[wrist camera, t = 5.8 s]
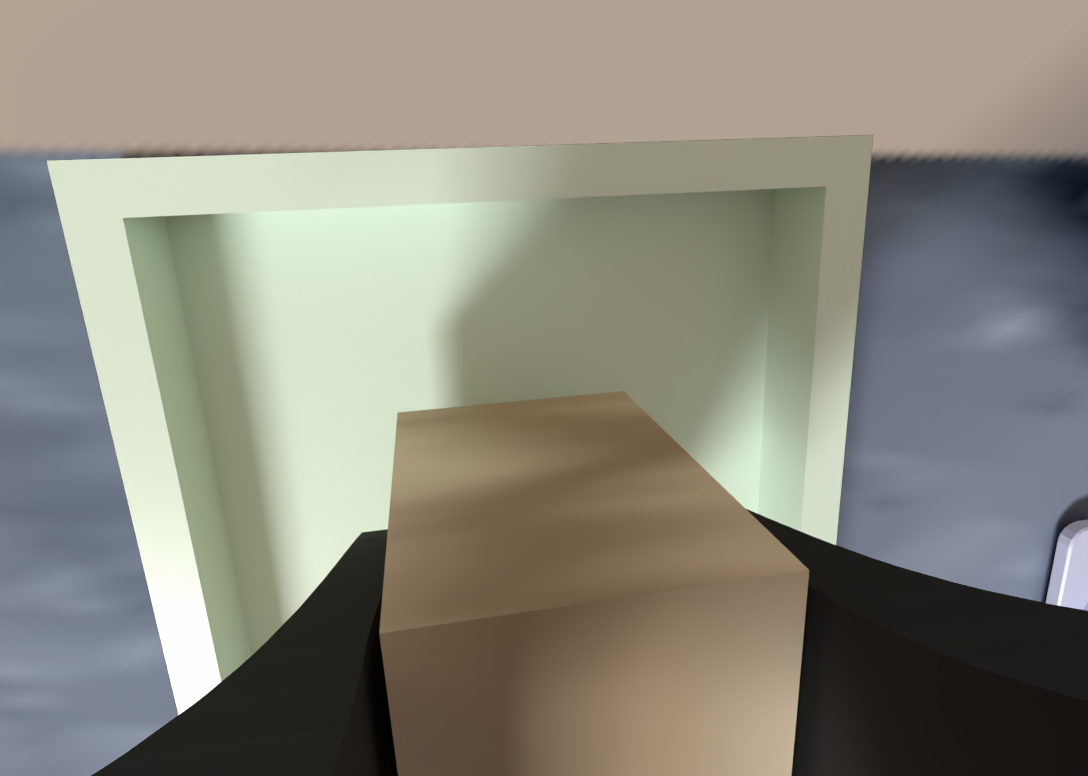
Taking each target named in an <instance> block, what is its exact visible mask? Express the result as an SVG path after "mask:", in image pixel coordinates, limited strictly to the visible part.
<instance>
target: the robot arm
mask: <svg viewBox="0 0 1088 776" xmlns="http://www.w3.org/2000/svg"><path fill="white" fill-rule="evenodd" d="M746 510H747V511H748V512H749V513H751V514H752V515H753V516H754V517H755V518H756V519H757V520H758V521H759V522H760V523H761V524H762V525H763V526H764V527H765V528H766V529H767V530H768V531H769V532H770V533H771V534H772V535H773V536H774V537H775V538H776V539H777V540H779V541H780V542H781V543H782V544H783V545H784V546H785V547H786V548H787V549H788V550H789V551H790V552H791V553H792V554H793V555H794V556H795V557H796V558H797V559H798V560H799V561H800V562H801V563H802V564H803V565H804V566H805V567H807V568H808V569H809V580H808V591H807V603H806V614H805V626H804V637H803V649H802V660H801V672H800V683H799V695H798V706H797V718H796V729H795V741H794V752H793V764H792V775H791V776H1088V520H1081V521H1076V522H1074V523H1071V524H1069V525H1068V526H1066V527H1065V528H1064V529H1063V530H1062V532H1061V533H1060V535H1059V538H1058V542H1057V547H1056V552H1055V557H1054V562H1053V567H1052V572H1051V577H1050V582H1049V588H1048V593H1047V598H1046V603H1042V602H1038V601H1033V600H1028V599H1024V598H1019V597H1014V596H1009V595H1005V594H1000V593H995V592H991V591H986V590H982V589H978V588H974V587H970V586H966V585H961V584H957V583H954V582H950V581H946V580H943V579H939V578H936V577H932V576H929V575H925V574H922V573H918V572H915V571H911V570H908V569H904V568H901V567H898V566H894V565H891V564H888V563H885V562H882V561H879V560H876V559H873V558H870V557H867V556H865V555H862V554H859V553H856V552H853V551H851V550H848V549H845V548H842V547H839V546H837V545H834V544H831V543H829V542H826V541H823V540H821V539H818V538H816V537H813V536H811V535H808V534H806V533H803V532H801V531H798V530H796V529H793V528H791V527H788V526H786V525H784V524H781V523H779V522H776V521H774V520H772V519H769V518H767V517H764V516H762V515H760V514H757V513H755V512H753V511H750V510H748V509H746ZM387 534H388V529H386V530H377V531H369V532H362V533H361V534H360V535H359V536H358V538H357V539H356V540H355V541H354V542H353V543H352V545H351V546H350V547H349V548H348V550H347V551H346V552H345V553H344V555H343V556H342V557H341V558H340V560H339V561H338V562H337V563H336V565H335V566H334V567H333V568H332V570H331V571H330V572H329V573H328V575H327V576H326V577H325V578H324V580H323V581H322V582H321V583H320V584H319V585H318V587H317V588H316V589H315V590H314V591H313V592H312V594H311V595H310V596H309V597H308V598H307V599H306V600H305V602H304V603H303V604H302V605H301V606H300V607H299V609H298V610H297V611H296V612H295V613H294V614H293V615H292V616H291V617H290V618H289V619H288V620H287V621H286V622H285V623H284V624H283V625H282V626H281V627H280V628H279V629H278V630H277V631H276V632H275V633H274V634H273V635H272V636H271V638H270V639H269V640H268V641H267V642H266V643H265V644H264V645H262V646H261V647H260V648H259V649H258V650H257V651H256V652H255V653H254V654H253V655H252V656H251V657H249V658H248V659H247V660H246V661H245V662H244V663H243V664H242V665H241V666H239V667H238V668H237V669H236V670H235V671H234V672H232V673H231V674H230V675H229V676H228V677H226V678H225V679H224V680H223V681H222V682H220V683H219V684H218V685H217V686H216V687H215V688H213V689H212V690H211V691H210V692H209V693H207V694H206V695H205V696H204V697H202V698H201V699H200V700H198V701H197V702H196V703H195V704H193V705H192V706H191V707H189V708H188V709H186V710H185V711H184V712H182V713H181V714H179V715H178V716H177V717H175V718H174V719H173V720H171V721H170V722H168V723H167V724H166V725H164V726H163V727H161V728H160V729H159V730H157V731H156V732H155V733H153V734H152V735H150V736H149V737H148V738H146V739H145V740H143V741H142V742H141V743H139V744H138V745H137V746H135V747H134V748H132V749H131V750H130V751H128V752H127V753H125V754H124V755H122V756H121V757H119V758H118V759H116V760H115V761H114V762H112V763H110V764H109V765H107V766H106V767H104V768H103V769H101V770H100V771H98V772H96V773H95V774H93V775H92V776H398V772H397V764H396V756H395V749H394V741H393V734H392V726H391V718H390V711H389V703H388V696H387V688H386V680H385V673H384V665H383V658H382V650H381V642H380V635H379V631H380V619H381V607H382V595H383V583H384V570H385V558H386V546H387Z"/></svg>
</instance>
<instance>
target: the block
mask: <svg viewBox="0 0 1088 776" xmlns="http://www.w3.org/2000/svg"><path fill="white" fill-rule="evenodd" d="M808 580H809V569H808V568H807V567H805V566H804V565H803V564H802V563H801V562H800V561H799V560H798V559H797V558H796V557H795V556H794V555H793V554H792V553H791V552H790V551H789V550H788V549H787V548H786V547H785V546H784V545H783V544H782V543H781V542H780V541H779V540H777V539H776V538H775V537H774V536H773V535H772V534H771V533H770V532H769V531H768V530H767V529H766V528H765V527H764V526H763V525H762V524H761V523H760V522H759V521H758V520H757V519H756V518H755V517H754V516H753V515H752V514H751V513H749V512H748V511H747V510H746V509H745V508H744V507H743V506H742V505H741V504H740V503H739V502H738V501H737V500H736V499H735V498H734V497H733V496H732V495H731V494H730V493H729V492H728V491H727V490H726V489H725V488H724V487H723V486H721V485H720V484H719V483H718V482H717V481H716V480H715V479H714V478H713V477H712V476H711V475H710V474H709V473H708V472H707V471H706V470H705V469H704V468H703V467H702V466H701V465H700V464H699V463H698V462H697V461H696V460H695V459H693V458H692V457H691V456H690V455H689V454H688V453H687V452H686V451H685V450H684V449H683V448H682V447H681V446H680V445H679V444H678V443H677V442H676V441H675V440H674V439H673V438H672V437H671V436H670V435H669V434H668V433H667V432H665V431H664V430H663V429H662V428H661V427H660V426H659V425H658V424H657V423H656V422H655V421H654V420H653V419H652V418H651V417H650V416H649V415H648V414H647V413H646V412H645V411H644V410H643V409H642V408H641V407H640V406H639V405H637V404H636V403H635V402H634V401H633V400H632V399H631V398H630V397H629V396H628V395H627V394H626V393H625V392H624V391H620V392H610V393H599V394H588V395H578V396H567V397H557V398H546V399H535V400H525V401H514V402H504V403H493V404H483V405H472V406H461V407H451V408H440V409H430V410H419V411H408V412H398V413H397V424H396V437H395V449H394V461H393V473H392V485H391V497H390V510H389V522H388V534H387V546H386V558H385V570H384V583H383V595H382V607H381V619H380V631H379V635H380V642H381V650H382V658H383V665H384V673H385V680H386V688H387V696H388V703H389V711H390V718H391V726H392V734H393V741H394V749H395V756H396V764H397V772H398V776H791V775H792V764H793V752H794V741H795V729H796V718H797V706H798V695H799V683H800V672H801V660H802V649H803V637H804V626H805V614H806V603H807V591H808Z"/></svg>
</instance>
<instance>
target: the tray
mask: <svg viewBox="0 0 1088 776" xmlns="http://www.w3.org/2000/svg"><path fill="white" fill-rule="evenodd" d="M872 144H873V135H853V136H820V137H790V138H757V139H726V140H693V141H661V142H630V143H598V144H570V145H569V144H566V145H535V146H503V147H471V148H439V149H408V150H376V151H344V152H312V153H281V154H249V155H217V156H185V157H154V158H122V159H90V160H58V161H47V164H48V168H49V172H50V177H51V181H52V185H53V189H54V193H55V198H56V202H57V206H58V210H59V214H60V219H61V223H62V227H63V231H64V235H65V240H66V244H67V248H68V252H69V256H70V261H71V265H72V269H73V273H74V277H75V282H76V286H77V290H78V294H79V298H80V303H81V307H82V311H83V315H84V319H85V324H86V328H87V332H88V336H89V340H90V345H91V349H92V353H93V357H94V361H95V366H96V370H97V374H98V378H99V382H100V387H101V391H102V395H103V399H104V403H105V408H106V412H107V416H108V420H109V424H110V429H111V433H112V437H113V441H114V445H115V450H116V454H117V458H118V462H119V466H120V471H121V475H122V479H123V483H124V487H125V492H126V496H127V500H128V504H129V508H130V513H131V517H132V521H133V525H134V529H135V533H136V538H137V542H138V546H139V550H140V554H141V559H142V563H143V567H144V571H145V575H146V580H147V584H148V588H149V592H150V596H151V601H152V605H153V609H154V613H155V617H156V622H157V626H158V630H159V634H160V638H161V643H162V647H163V651H164V655H165V659H166V664H167V668H168V672H169V676H170V680H171V685H172V689H173V693H174V697H175V701H176V706H177V710H178V714H181V713H182V712H184V711H185V710H186V709H188V708H189V707H191V706H192V705H193V704H195V703H196V702H197V701H198V700H200V699H201V698H202V697H204V696H205V695H206V694H207V693H209V692H210V691H211V690H212V689H213V688H215V687H216V686H217V685H218V684H219V683H220V682H222V681H223V680H224V679H225V678H226V677H228V676H229V675H230V674H231V673H232V672H234V671H235V670H236V669H237V668H238V667H239V666H241V665H242V664H243V663H244V662H245V661H246V660H247V659H248V658H249V657H251V656H252V655H253V654H254V653H255V652H256V651H257V650H258V649H259V648H260V647H261V646H262V645H264V644H265V643H266V642H267V641H268V640H269V639H270V638H271V636H272V635H273V634H274V633H275V632H276V631H277V630H278V629H279V628H280V627H281V626H282V625H283V624H284V623H285V622H286V621H287V620H288V619H289V618H290V617H291V616H292V615H293V614H294V613H295V612H296V611H297V610H298V609H299V607H300V606H301V605H302V604H303V603H304V602H305V600H306V599H307V598H308V597H309V596H310V595H311V594H312V592H313V591H314V590H315V589H316V588H317V587H318V585H319V584H320V583H321V582H322V581H323V580H324V578H325V577H326V576H327V575H328V573H329V572H330V571H331V570H332V568H333V567H334V566H335V565H336V563H337V562H338V561H339V560H340V558H341V557H342V556H343V555H344V553H345V552H346V551H347V550H348V548H349V547H350V546H351V545H352V543H353V542H354V541H355V540H356V539H357V538H358V536H359V535H360V534H361V533H362V532H369V531H377V530H386V529H388V522H389V510H390V497H391V485H392V473H393V461H394V449H395V437H396V424H397V413H398V412H408V411H419V410H430V409H440V408H451V407H461V406H472V405H483V404H493V403H504V402H514V401H525V400H535V399H546V398H557V397H567V396H578V395H588V394H599V393H610V392H620V391H624V392H625V393H626V394H627V395H628V396H629V397H630V398H631V399H632V400H633V401H634V402H635V403H636V404H637V405H639V406H640V407H641V408H642V409H643V410H644V411H645V412H646V413H647V414H648V415H649V416H650V417H651V418H652V419H653V420H654V421H655V422H656V423H657V424H658V425H659V426H660V427H661V428H662V429H663V430H664V431H665V432H667V433H668V434H669V435H670V436H671V437H672V438H673V439H674V440H675V441H676V442H677V443H678V444H679V445H680V446H681V447H682V448H683V449H684V450H685V451H686V452H687V453H688V454H689V455H690V456H691V457H692V458H693V459H695V460H696V461H697V462H698V463H699V464H700V465H701V466H702V467H703V468H704V469H705V470H706V471H707V472H708V473H709V474H710V475H711V476H712V477H713V478H714V479H715V480H716V481H717V482H718V483H719V484H720V485H721V486H723V487H724V488H725V489H726V490H727V491H728V492H729V493H730V494H731V495H732V496H733V497H734V498H735V499H736V500H737V501H738V502H739V503H740V504H741V505H742V506H743V507H744V508H745V509H748V510H750V511H753V512H755V513H757V514H760V515H762V516H764V517H767V518H769V519H772V520H774V521H776V522H779V523H781V524H784V525H786V526H788V527H791V528H793V529H796V530H798V531H801V532H803V533H806V534H808V535H811V536H813V537H816V538H818V539H821V540H823V541H826V542H829V543H831V544H834V545H836V540H837V529H838V518H839V507H840V496H841V485H842V474H843V463H844V452H845V441H846V430H847V419H848V408H849V397H850V386H851V375H852V364H853V353H854V342H855V331H856V320H857V309H858V298H859V287H860V276H861V265H862V254H863V243H864V232H865V221H866V210H867V199H868V188H869V177H870V166H871V155H872Z"/></svg>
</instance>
